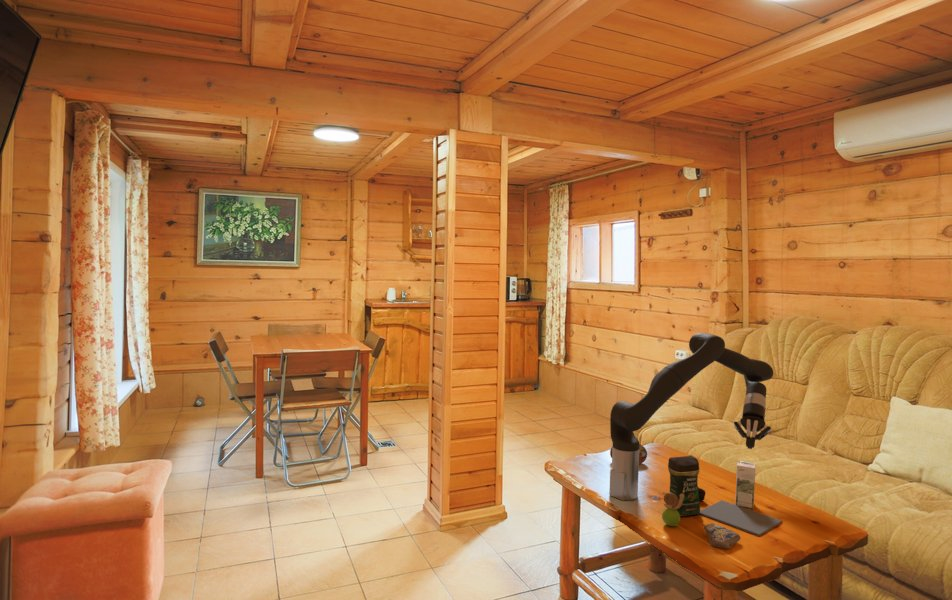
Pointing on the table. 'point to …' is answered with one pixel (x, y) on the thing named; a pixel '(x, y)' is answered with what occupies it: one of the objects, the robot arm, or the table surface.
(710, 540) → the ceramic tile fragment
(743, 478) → the syrup box
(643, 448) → the tin
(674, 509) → the snail figurine
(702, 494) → the hand tool
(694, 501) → the coffee jar
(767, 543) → the table surface
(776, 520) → the charcoal mat
